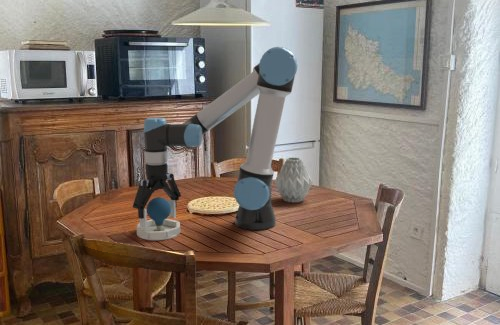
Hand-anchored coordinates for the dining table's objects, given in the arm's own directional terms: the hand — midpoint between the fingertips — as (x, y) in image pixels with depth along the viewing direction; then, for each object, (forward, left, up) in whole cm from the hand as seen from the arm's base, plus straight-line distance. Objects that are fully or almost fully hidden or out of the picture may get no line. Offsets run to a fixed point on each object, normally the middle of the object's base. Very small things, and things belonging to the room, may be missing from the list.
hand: (158, 222), depth 179 cm
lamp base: (0, 0, -4) cm, 4 cm away
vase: (-15, -65, -4) cm, 67 cm away
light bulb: (0, 0, -3) cm, 3 cm away
